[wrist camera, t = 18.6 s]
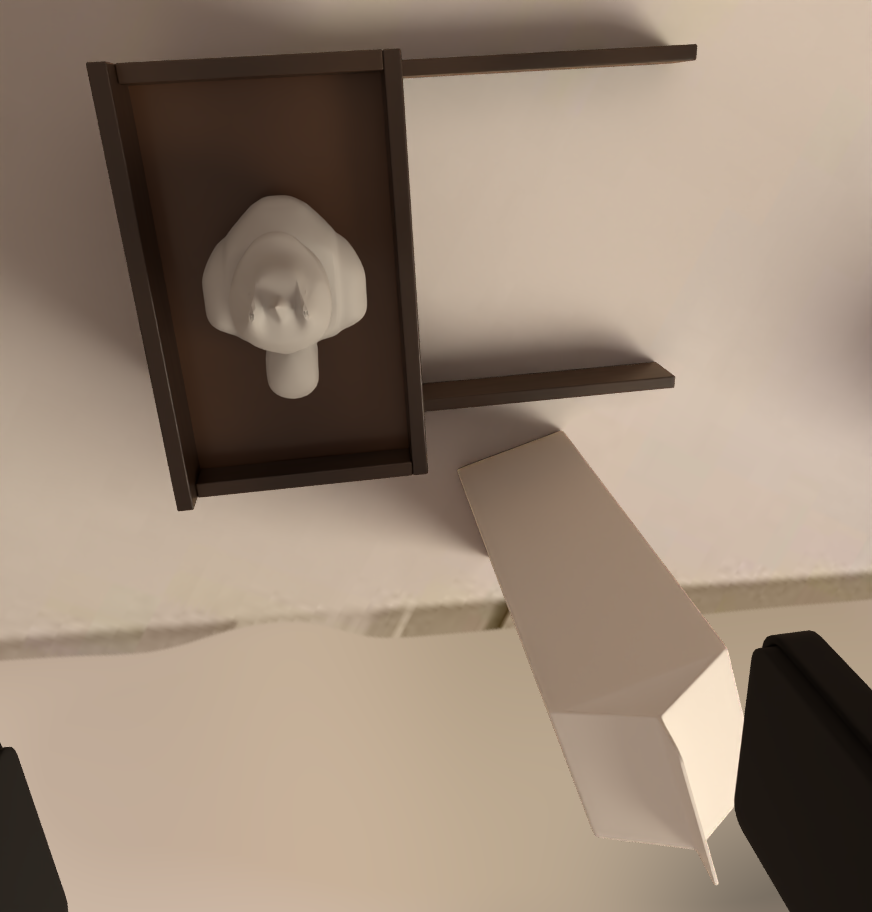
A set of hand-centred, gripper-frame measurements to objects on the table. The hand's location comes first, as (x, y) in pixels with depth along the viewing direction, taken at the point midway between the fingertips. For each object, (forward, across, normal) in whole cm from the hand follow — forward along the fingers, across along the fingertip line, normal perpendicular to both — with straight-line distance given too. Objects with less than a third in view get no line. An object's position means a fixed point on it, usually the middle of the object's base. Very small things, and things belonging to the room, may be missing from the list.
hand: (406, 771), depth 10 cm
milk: (+31, -9, +12) cm, 34 cm away
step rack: (+30, -4, -2) cm, 31 cm away
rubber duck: (+22, +2, -2) cm, 23 cm away
